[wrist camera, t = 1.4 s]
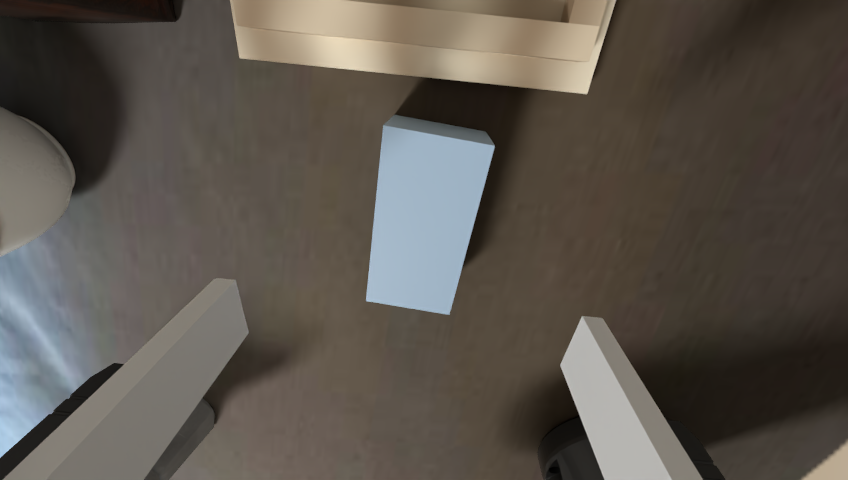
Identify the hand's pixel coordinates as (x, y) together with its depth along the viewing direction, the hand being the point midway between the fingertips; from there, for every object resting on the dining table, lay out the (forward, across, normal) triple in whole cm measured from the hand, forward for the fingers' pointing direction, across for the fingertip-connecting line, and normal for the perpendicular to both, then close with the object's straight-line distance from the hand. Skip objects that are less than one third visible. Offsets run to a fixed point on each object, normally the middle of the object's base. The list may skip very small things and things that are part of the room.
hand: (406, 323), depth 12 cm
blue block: (+13, 0, 0) cm, 13 cm away
